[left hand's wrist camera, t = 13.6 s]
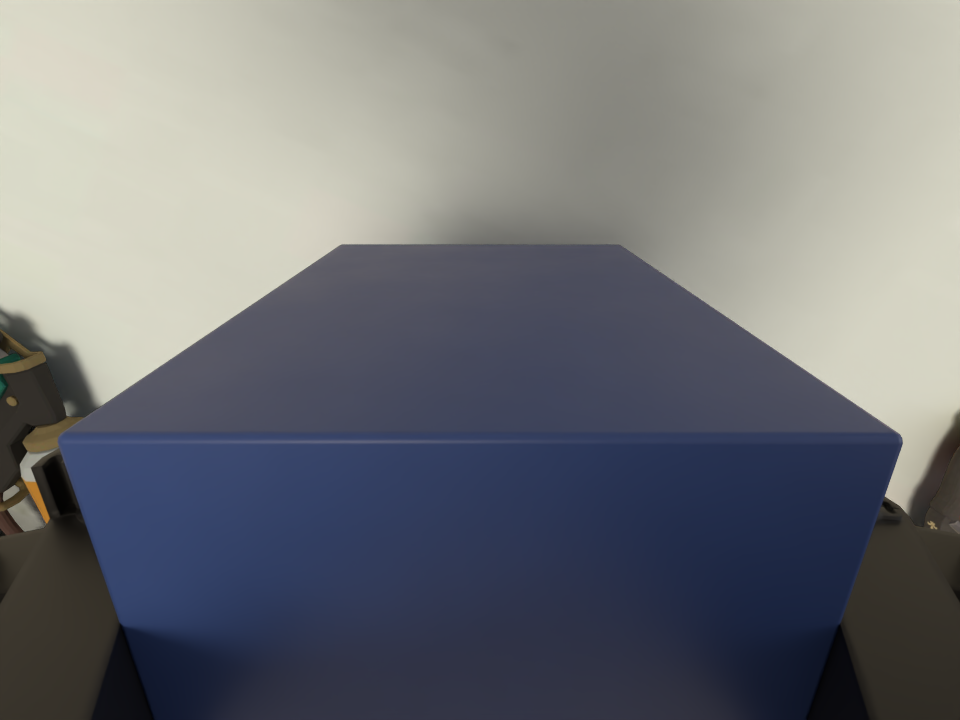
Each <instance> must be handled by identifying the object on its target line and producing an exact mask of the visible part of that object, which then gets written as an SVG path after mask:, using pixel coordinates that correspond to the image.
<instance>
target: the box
mask: <svg viewBox="0 0 960 720" xmlns="http://www.w3.org/2000/svg"><path fill="white" fill-rule="evenodd" d="M902 444H903V442H902V437H901V435H900V434H899V433H897V432H896V431H894V430H893V429H891V428H890V427H888V426H887V425H885V424H884V423H882V422H881V421H880V420H878V419H877V418H875V417H874V416H872V415H871V414H869V413H868V412H866V411H865V410H863V409H862V408H860V407H859V406H857V405H856V404H854V403H853V402H851V401H850V400H848V399H847V398H845V397H844V396H843V395H841V394H840V393H838V392H837V391H835V390H834V389H832V388H831V387H829V386H828V385H826V384H825V383H823V382H822V381H820V380H819V379H817V378H816V377H814V376H813V375H811V374H810V373H809V372H807V371H806V370H804V369H803V368H801V367H800V366H798V365H797V364H795V363H794V362H792V361H791V360H789V359H788V358H786V357H785V356H783V355H782V354H780V353H779V352H777V351H776V350H775V349H773V348H772V347H770V346H769V345H767V344H766V343H764V342H763V341H761V340H760V339H758V338H757V337H755V336H754V335H752V334H751V333H749V332H748V331H746V330H745V329H743V328H742V327H741V326H739V325H738V324H736V323H735V322H733V321H732V320H730V319H729V318H727V317H726V316H724V315H723V314H721V313H720V312H718V311H717V310H715V309H714V308H712V307H711V306H709V305H708V304H706V303H705V302H704V301H702V300H701V299H699V298H698V297H696V296H695V295H693V294H692V293H690V292H689V291H687V290H686V289H684V288H683V287H681V286H680V285H678V284H677V283H675V282H674V281H672V280H671V279H670V278H668V277H667V276H665V275H664V274H662V273H661V272H659V271H658V270H656V269H655V268H653V267H652V266H650V265H649V264H647V263H646V262H644V261H643V260H641V259H640V258H638V257H637V256H636V255H634V254H633V253H631V252H630V251H628V250H627V249H625V248H624V247H622V246H621V245H340V246H338V247H337V248H335V249H334V250H332V251H331V252H329V253H328V254H327V255H325V256H324V257H322V258H321V259H319V260H318V261H316V262H315V263H313V264H312V265H310V266H309V267H307V268H306V269H304V270H303V271H301V272H300V273H298V274H297V275H295V276H294V277H292V278H291V279H289V280H288V281H286V282H285V283H283V284H282V285H280V286H279V287H278V288H276V289H275V290H273V291H272V292H270V293H269V294H267V295H266V296H264V297H263V298H261V299H260V300H258V301H257V302H255V303H254V304H252V305H251V306H249V307H248V308H246V309H245V310H243V311H242V312H240V313H239V314H237V315H236V316H234V317H233V318H231V319H230V320H229V321H227V322H226V323H224V324H223V325H221V326H220V327H218V328H217V329H215V330H214V331H212V332H211V333H209V334H208V335H206V336H205V337H203V338H202V339H200V340H199V341H197V342H196V343H194V344H193V345H191V346H190V347H188V348H187V349H185V350H184V351H182V352H181V353H180V354H178V355H177V356H175V357H174V358H172V359H171V360H169V361H168V362H166V363H165V364H163V365H162V366H160V367H159V368H157V369H156V370H154V371H153V372H151V373H150V374H148V375H147V376H145V377H144V378H142V379H141V380H139V381H138V382H136V383H135V384H133V385H132V386H131V387H129V388H128V389H126V390H125V391H123V392H122V393H120V394H119V395H117V396H116V397H114V398H113V399H111V400H110V401H108V402H107V403H105V404H104V405H102V406H101V407H99V408H98V409H96V410H95V411H93V412H92V413H90V414H89V415H87V416H86V417H84V418H83V419H82V420H80V421H79V422H77V423H76V424H74V425H73V426H71V427H70V428H68V429H67V430H65V431H64V432H62V433H61V434H60V435H59V437H58V446H59V449H60V452H61V454H62V457H63V460H64V463H65V466H66V469H67V472H68V475H69V478H70V481H71V483H72V486H73V489H74V492H75V495H76V498H77V501H78V504H79V507H80V510H81V512H82V515H83V518H84V521H85V524H86V527H87V530H88V533H89V536H90V539H91V541H92V544H93V547H94V550H95V553H96V556H97V559H98V562H99V565H100V568H101V570H102V573H103V576H104V579H105V582H106V585H107V588H108V591H109V594H110V596H111V599H112V602H113V605H114V608H115V611H116V614H117V617H118V620H119V623H120V624H121V627H122V630H123V633H124V636H125V639H126V642H127V644H128V647H129V650H130V653H131V656H132V659H133V662H134V665H135V668H136V670H137V673H138V676H139V679H140V682H141V685H142V688H143V691H144V694H145V697H146V699H147V702H148V705H149V708H150V711H151V714H152V717H153V720H807V718H808V715H809V712H810V709H811V706H812V703H813V700H814V698H815V695H816V692H817V689H818V686H819V683H820V680H821V677H822V674H823V672H824V669H825V666H826V663H827V660H828V657H829V654H830V651H831V648H832V646H833V643H834V640H835V637H836V634H837V631H838V628H839V625H840V623H841V621H842V618H843V615H844V612H845V609H846V606H847V603H848V600H849V598H850V595H851V592H852V589H853V586H854V583H855V580H856V577H857V574H858V572H859V569H860V566H861V563H862V560H863V557H864V554H865V551H866V548H867V545H868V543H869V540H870V537H871V534H872V531H873V528H874V525H875V522H876V519H877V517H878V514H879V511H880V508H881V505H882V502H883V499H884V496H885V493H886V491H887V488H888V485H889V482H890V479H891V476H892V473H893V470H894V467H895V465H896V462H897V459H898V456H899V453H900V450H901V447H902Z"/></svg>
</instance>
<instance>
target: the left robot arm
mask: <svg viewBox="0 0 960 720" xmlns="http://www.w3.org/2000/svg"><path fill="white" fill-rule="evenodd" d="M31 470H32V473H33V475H34V478H35V481H36V483H37V486H38V489H39V491H40V494H41V497H42V499H43V502H44V504H45V507H46V510H47V512H48V515H49V518H50V519H49V521H48V523H47V524H46V526H45V528H43V529H37V530H32V531H27V532H22V533H16V534H11V535H6V536H1V537H0V720H153V717H152V714H151V711H150V708H149V705H148V702H147V699H146V697H145V694H144V691H143V688H142V685H141V682H140V679H139V676H138V673H137V670H136V668H135V665H134V662H133V659H132V656H131V653H130V650H129V647H128V644H127V642H126V639H125V636H124V633H123V630H122V627H121V624H120V623H119V620H118V617H117V614H116V611H115V608H114V605H113V602H112V599H111V596H110V594H109V591H108V588H107V585H106V582H105V579H104V576H103V573H102V570H101V568H100V565H99V562H98V559H97V556H96V553H95V550H94V547H93V544H92V541H91V539H90V536H89V533H88V530H87V527H86V524H85V521H84V518H83V515H82V512H81V510H80V507H79V504H78V501H77V498H76V495H75V492H74V489H73V486H72V483H71V481H70V478H69V475H68V472H67V469H66V466H65V463H64V460H63V457H62V454H61V452H60V449H59V448H58V449H57V450H55V451H53V452H51V453H49V454H47V455H45V456H44V457H42V458H41V459H40V460H39V461H38V462H36V463H35V464H34V465H33V466H32V467H31ZM807 720H960V534H957V533H952V532H947V531H941V530H936V529H931V528H926V527H920V526H915V525H914V523H913V522H912V520H911V518H910V517H909V516H908V515H907V514H906V513H905V512H904V510H903V509H902V508H901V507H900V506H899V505H897V504H895V503H894V502H892V501H891V500H889V499H888V498H886V497H885V496H884V499H883V502H882V505H881V508H880V511H879V514H878V517H877V519H876V522H875V525H874V528H873V531H872V534H871V537H870V540H869V543H868V545H867V548H866V551H865V554H864V557H863V560H862V563H861V566H860V569H859V572H858V574H857V577H856V580H855V583H854V586H853V589H852V592H851V595H850V598H849V600H848V603H847V606H846V609H845V612H844V615H843V618H842V621H841V623H840V625H839V628H838V631H837V634H836V637H835V640H834V643H833V646H832V648H831V651H830V654H829V657H828V660H827V663H826V666H825V669H824V672H823V674H822V677H821V680H820V683H819V686H818V689H817V692H816V695H815V698H814V700H813V703H812V706H811V709H810V712H809V715H808V718H807Z"/></svg>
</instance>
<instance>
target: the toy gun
mask: <svg viewBox="0 0 960 720" xmlns="http://www.w3.org/2000/svg"><path fill="white" fill-rule="evenodd" d="M924 527H926V528H931V529H936V530H941V531H947V532H952V533H957V534H960V445H959V447H958V448H957V450H956V451H955V453H954V454H953V457H952V459H951V461H950V463H949V465H948V468H947V470H946V473H945V475H944V478H943V481H942V483H941V486H940V488H939V490H938V492H937V494H936V495H935V497H934V498H933V499H932V501H931V502H930V508H929V509H928V511H927V513H926V516H925V522H924Z"/></svg>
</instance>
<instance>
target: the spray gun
mask: <svg viewBox="0 0 960 720" xmlns="http://www.w3.org/2000/svg"><path fill="white" fill-rule="evenodd" d="M11 348H12V349H13V350H14V351H16V352H17V353H18V354H20V355H21V356H22V357H24V358H25V359H23V360H21V359H20V356H19V355H17V354H16V353H13V354H10V355H8V353H9V351H10V350H11ZM45 361H46V358H45V356H44V354H43V352H42V351H38V352H30V351H29V350H28V349H26V348H25V347H24V346H22V345H21V344H20V343H18V342H17V341H16V340H14V339H13V338H12V337H10V336H9V335H8V334H6V333H5V332H4V331H2V330H1V329H0V529H1V530H2V531H3V532H4V533H5V535H11V534H16V533H22V532H24V531H23V530H22V529H21V528H20V527H19V525H18V524H17V523H16V522H15V520H14V519H13V518H12V516H11V515H10V513H9V512H8V510H7V509H8V508H10V507H12V506H14V505H16V504H18V503H19V502H21V501H22V500H23V499H24V498H25V497H26V496H27V495H28V494H29V493H30V494H31V496H32V498H33V500H34V501H35V503H36V505H37V507H38V509H39V511H40V513H41V515H42V516H43V518H44V520H45V522H46V524H47V523H48V521H49V519H50V518H49V515H48V512H47V510H46V507H45V504H44V502H43V499H42V497H41V494H40V491H39V489H38V486H37V483H36V481H35V478H34V475H33V473H32V470H31V467H32V466H33V465H34V464H35V463H36V462H38V461H39V460H40V459H41V458H42V457H44V456H45V455H47V454H49V453H51V452H53V451H55V450H57V449H58V448H59V446H58V437H59V435H60V434H61V433H62V432H64V431H65V430H67V429H68V428H70V427H71V426H73V425H74V424H76V423H77V422H79V421H80V420H82V419H83V418H84V417H68V416H66V411H65V407H64V405H63V403H62V400H61V398H60V395H59V393H58V390H57V388H56V385H55V383H54V381H53V378H52V376H51V373H50V371H49V368H48V366H47V364H46V363H43V362H45ZM32 426H37V427H36V428H35V429H34V430H33V431H32V432H31V433H30V434H28V432H29V431H30V429H31V427H32ZM27 434H28V435H27ZM26 435H27V436H26ZM20 476H21V477H20ZM13 485H16V486H17V487H19V489H20V491H19V492H18V493H16V494H15V495H14V496H13V497H11V498H9V499H8V500H6V501H3V492H5V491H6V490H8V489H9V488H10V487H12V486H13Z"/></svg>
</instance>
